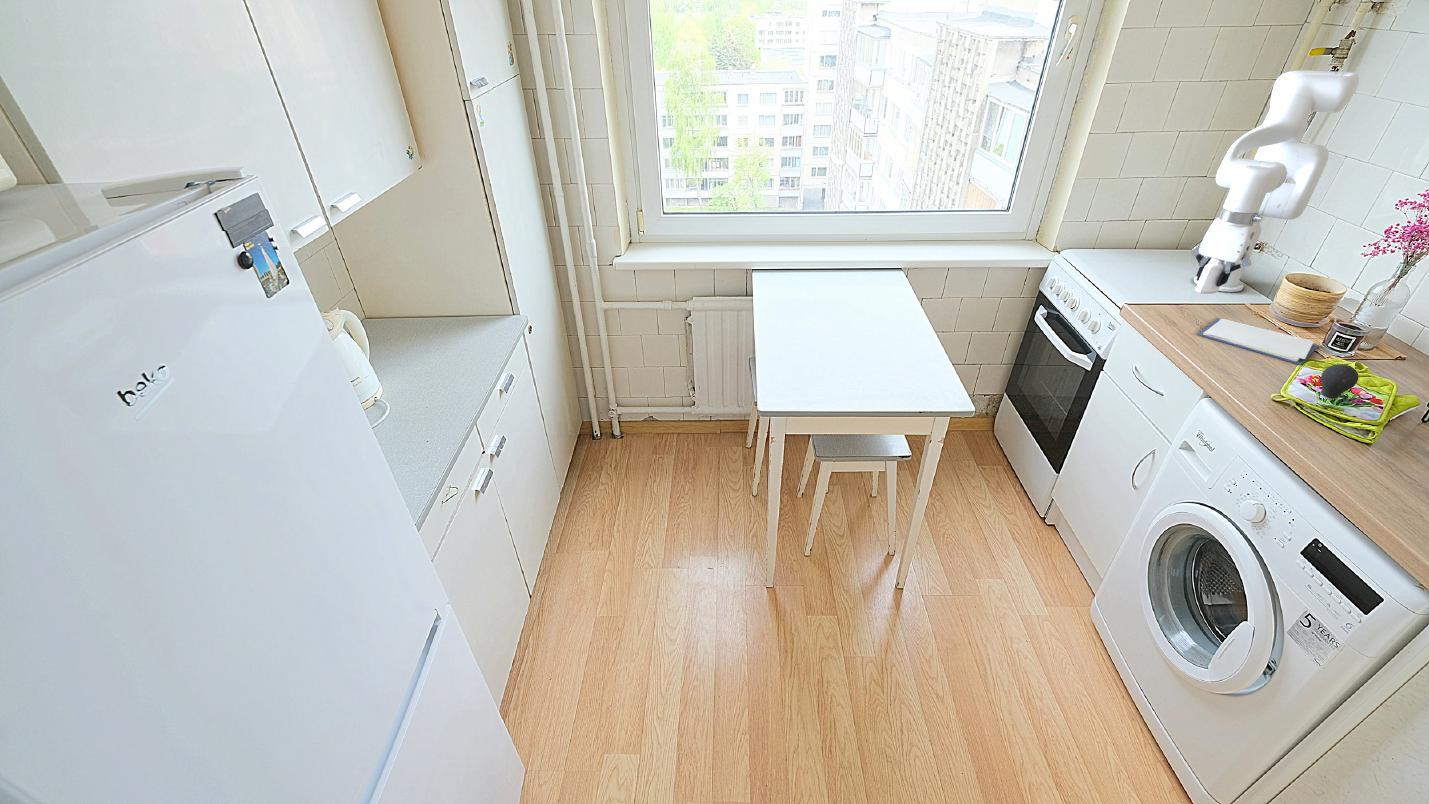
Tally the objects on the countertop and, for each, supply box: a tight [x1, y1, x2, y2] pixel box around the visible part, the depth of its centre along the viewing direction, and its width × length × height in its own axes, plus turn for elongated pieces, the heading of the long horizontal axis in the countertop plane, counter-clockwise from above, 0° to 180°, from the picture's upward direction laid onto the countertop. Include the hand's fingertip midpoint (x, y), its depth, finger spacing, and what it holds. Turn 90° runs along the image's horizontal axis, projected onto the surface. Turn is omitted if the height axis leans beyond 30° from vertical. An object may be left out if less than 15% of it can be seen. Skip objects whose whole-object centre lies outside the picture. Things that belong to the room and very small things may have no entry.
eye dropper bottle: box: [1194, 258, 1226, 295], centre depth 174 cm, size 4×6×12 cm
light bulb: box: [1316, 363, 1359, 408], centre depth 135 cm, size 6×6×10 cm
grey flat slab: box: [1196, 318, 1319, 366], centre depth 165 cm, size 16×22×1 cm
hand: (1210, 282), depth 175 cm, fingers closed on eye dropper bottle, 4 cm apart
